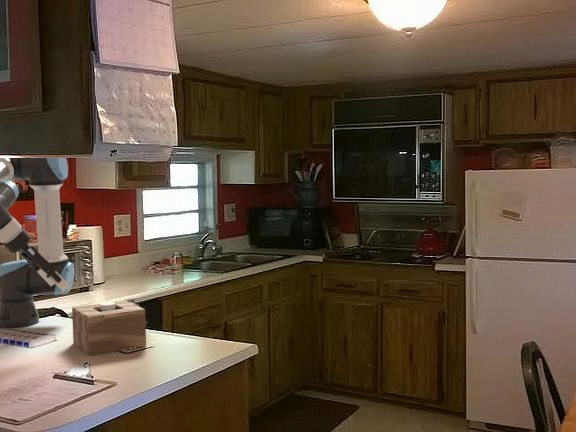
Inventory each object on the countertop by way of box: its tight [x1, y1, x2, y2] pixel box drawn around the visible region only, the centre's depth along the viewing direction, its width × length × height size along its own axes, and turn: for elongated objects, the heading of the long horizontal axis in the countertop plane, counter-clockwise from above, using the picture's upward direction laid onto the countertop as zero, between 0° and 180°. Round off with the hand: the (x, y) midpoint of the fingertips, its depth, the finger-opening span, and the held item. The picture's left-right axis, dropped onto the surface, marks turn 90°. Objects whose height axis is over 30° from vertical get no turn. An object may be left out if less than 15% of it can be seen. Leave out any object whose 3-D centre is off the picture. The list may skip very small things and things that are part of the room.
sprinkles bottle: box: [100, 301, 115, 312], centre depth 221 cm, size 5×5×14 cm
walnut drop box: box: [71, 300, 147, 357], centre depth 220 cm, size 18×18×12 cm
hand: (60, 286), depth 214 cm, fingers open, 13 cm apart
